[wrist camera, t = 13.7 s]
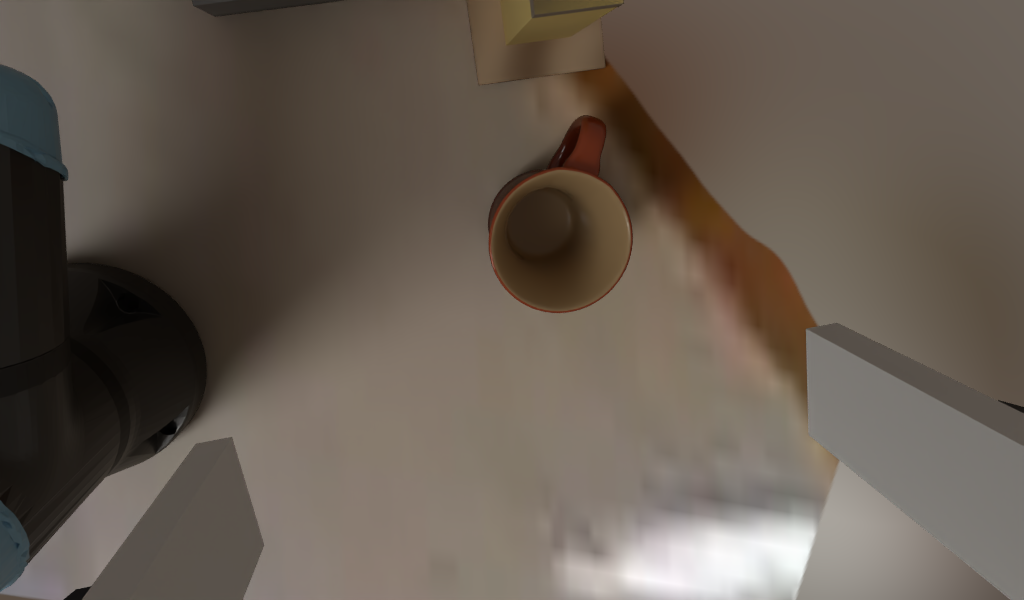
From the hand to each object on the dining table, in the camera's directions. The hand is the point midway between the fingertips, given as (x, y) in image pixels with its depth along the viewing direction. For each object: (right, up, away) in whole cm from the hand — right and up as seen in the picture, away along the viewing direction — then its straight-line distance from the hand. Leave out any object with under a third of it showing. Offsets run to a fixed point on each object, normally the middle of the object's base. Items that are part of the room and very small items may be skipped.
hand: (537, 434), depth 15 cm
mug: (+2, +11, +34) cm, 35 cm away
